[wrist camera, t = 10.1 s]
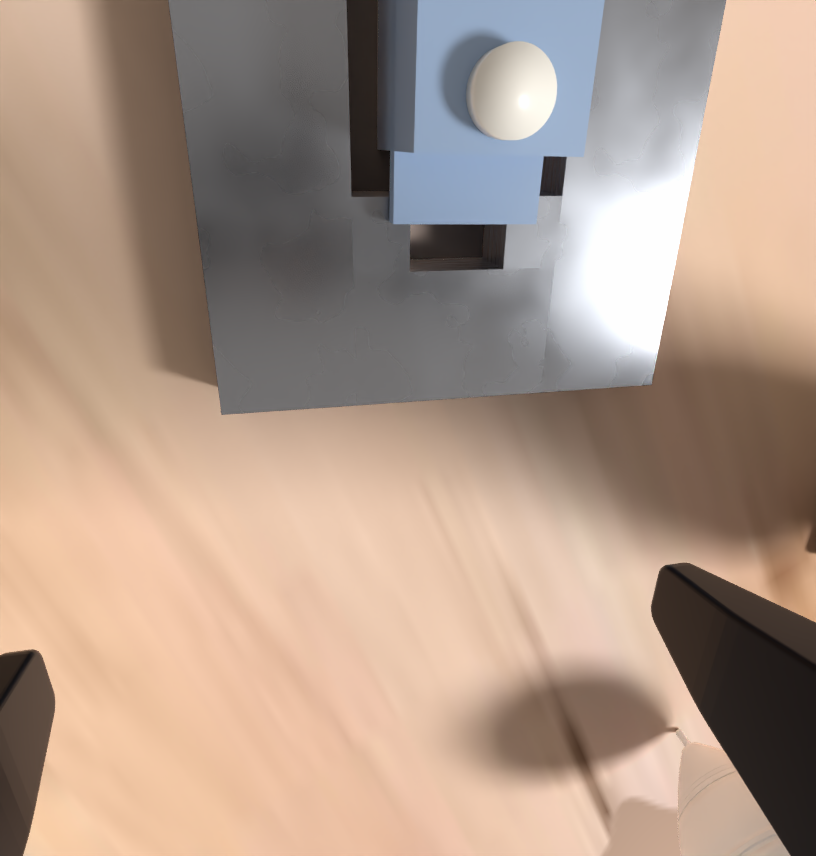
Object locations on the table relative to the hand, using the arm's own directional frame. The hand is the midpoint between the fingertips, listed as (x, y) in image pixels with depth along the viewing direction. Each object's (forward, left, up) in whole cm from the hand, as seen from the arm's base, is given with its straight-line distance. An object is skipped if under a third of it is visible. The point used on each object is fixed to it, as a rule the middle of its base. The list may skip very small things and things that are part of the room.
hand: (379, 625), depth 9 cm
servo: (-4, -9, -12) cm, 16 cm away
